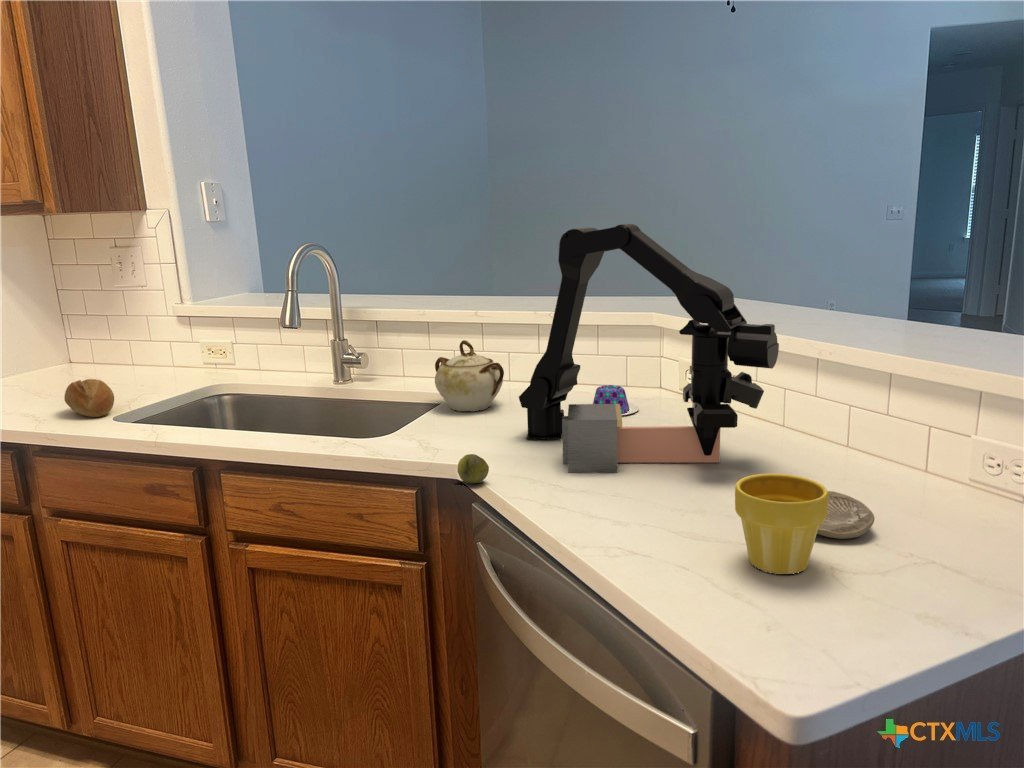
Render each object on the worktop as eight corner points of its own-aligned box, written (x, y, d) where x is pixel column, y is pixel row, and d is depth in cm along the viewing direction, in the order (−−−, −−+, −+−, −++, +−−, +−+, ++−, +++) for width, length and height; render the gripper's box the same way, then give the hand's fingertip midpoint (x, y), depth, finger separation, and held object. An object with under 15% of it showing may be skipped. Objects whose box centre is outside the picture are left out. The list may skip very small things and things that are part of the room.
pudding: (615, 422, 156) (615, 397, 155) (570, 412, 164) (570, 389, 163) (650, 410, 164) (650, 386, 163) (605, 401, 172) (605, 378, 171)
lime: (455, 481, 125) (453, 452, 123) (483, 476, 126) (481, 447, 125) (463, 490, 121) (462, 460, 119) (492, 485, 122) (491, 455, 121)
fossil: (823, 556, 97) (823, 536, 96) (768, 518, 107) (768, 500, 107) (892, 537, 99) (893, 517, 98) (832, 502, 110) (833, 484, 109)
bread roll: (77, 424, 168) (71, 388, 166) (60, 412, 179) (54, 379, 177) (124, 415, 174) (119, 381, 172) (105, 404, 185) (100, 372, 183)
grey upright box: (562, 472, 127) (561, 420, 125) (564, 453, 137) (563, 404, 135) (622, 472, 126) (622, 419, 124) (619, 453, 136) (619, 403, 134)
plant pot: (748, 538, 100) (751, 466, 98) (832, 556, 94) (837, 480, 92) (720, 569, 92) (723, 492, 90) (810, 591, 86) (815, 509, 84)
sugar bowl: (414, 408, 171) (410, 342, 167) (459, 394, 182) (456, 332, 179) (481, 421, 159) (478, 350, 155) (526, 405, 170) (524, 338, 166)
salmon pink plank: (610, 462, 130) (610, 428, 129) (610, 460, 131) (610, 426, 130) (719, 462, 129) (720, 427, 127) (718, 460, 130) (719, 426, 128)
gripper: (773, 374, 116) (769, 473, 119) (748, 351, 134) (745, 437, 137) (698, 375, 117) (695, 472, 120) (683, 352, 135) (681, 437, 138)
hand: (707, 453), depth 129 cm, fingers closed on salmon pink plank
